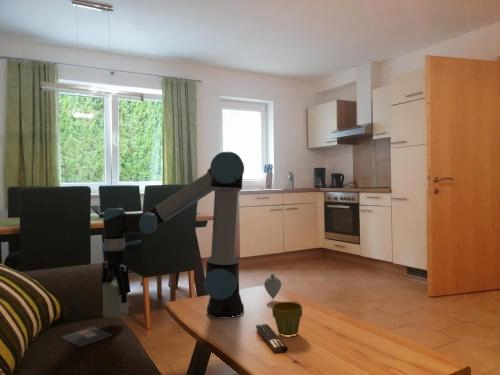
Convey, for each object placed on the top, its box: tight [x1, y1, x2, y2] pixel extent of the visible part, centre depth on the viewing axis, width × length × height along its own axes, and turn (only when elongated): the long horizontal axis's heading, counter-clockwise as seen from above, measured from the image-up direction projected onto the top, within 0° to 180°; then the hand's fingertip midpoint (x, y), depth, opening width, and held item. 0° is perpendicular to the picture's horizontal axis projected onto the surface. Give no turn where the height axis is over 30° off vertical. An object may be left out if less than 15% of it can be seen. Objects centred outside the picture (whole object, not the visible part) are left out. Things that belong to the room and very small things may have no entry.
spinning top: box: [264, 272, 282, 299], centre depth 168 cm, size 8×8×12 cm
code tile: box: [60, 326, 114, 348], centre depth 132 cm, size 14×12×1 cm
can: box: [101, 279, 129, 319], centre depth 142 cm, size 9×9×12 cm
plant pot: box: [271, 301, 303, 335], centre depth 130 cm, size 10×10×10 cm
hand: (115, 308), depth 142 cm, fingers closed on can, 9 cm apart
